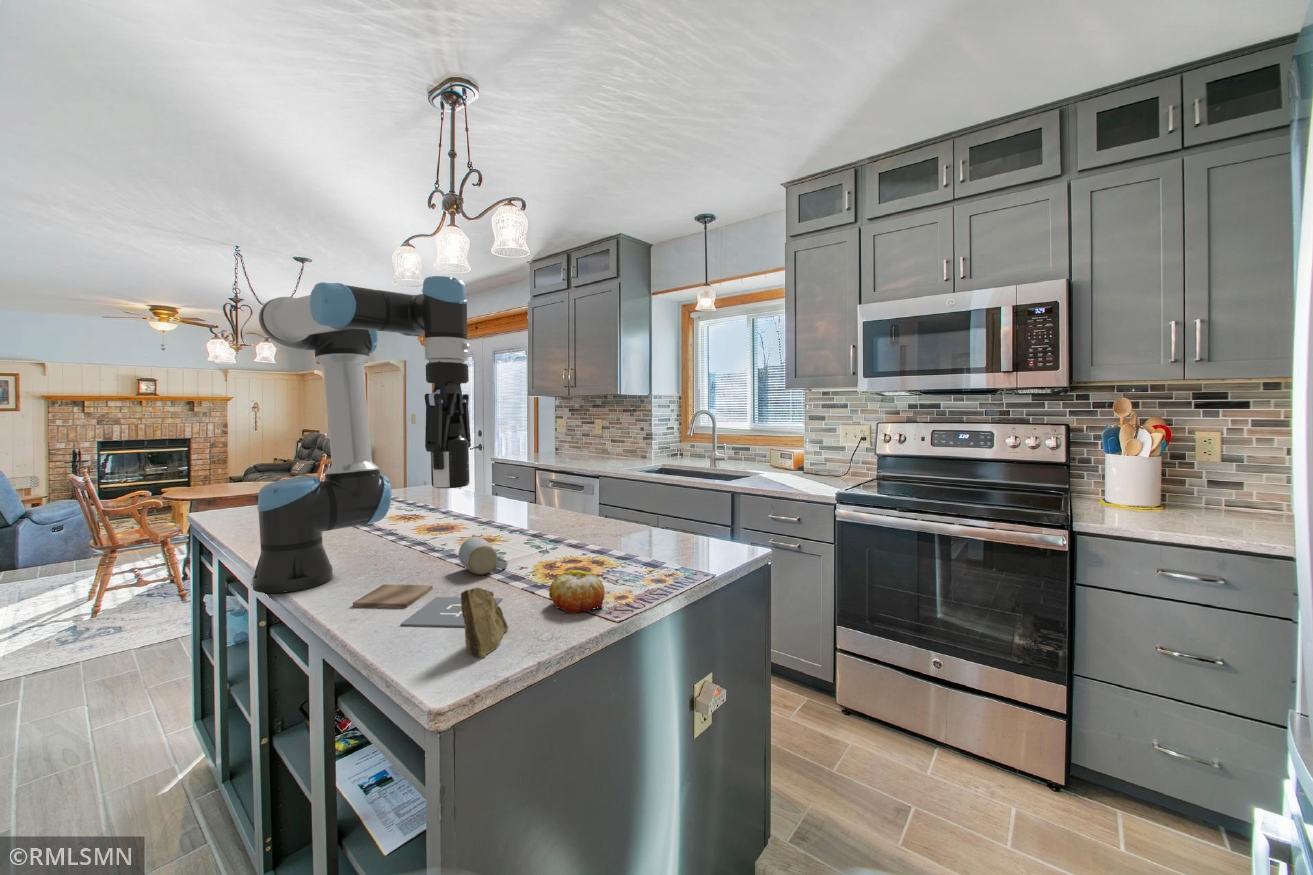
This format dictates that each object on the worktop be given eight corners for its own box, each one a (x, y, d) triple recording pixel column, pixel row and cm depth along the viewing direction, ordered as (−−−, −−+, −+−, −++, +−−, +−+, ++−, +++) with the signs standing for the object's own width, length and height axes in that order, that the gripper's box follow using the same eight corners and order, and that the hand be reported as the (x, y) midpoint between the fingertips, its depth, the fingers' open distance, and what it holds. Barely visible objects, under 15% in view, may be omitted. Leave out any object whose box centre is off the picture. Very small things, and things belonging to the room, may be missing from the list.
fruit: (537, 610, 107) (542, 567, 109) (563, 607, 116) (567, 568, 118) (589, 616, 103) (594, 572, 105) (612, 613, 113) (615, 572, 114)
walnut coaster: (352, 606, 110) (352, 602, 110) (383, 587, 121) (383, 584, 121) (406, 607, 109) (406, 603, 109) (432, 588, 120) (432, 585, 120)
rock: (493, 610, 102) (442, 619, 94) (514, 578, 99) (464, 585, 91) (519, 660, 96) (468, 674, 88) (542, 627, 93) (491, 639, 85)
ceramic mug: (468, 578, 127) (468, 545, 127) (458, 570, 134) (458, 538, 133) (513, 571, 133) (513, 539, 133) (501, 563, 140) (501, 533, 140)
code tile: (400, 625, 101) (400, 623, 101) (436, 598, 115) (436, 596, 115) (475, 627, 100) (475, 625, 100) (502, 599, 114) (502, 597, 114)
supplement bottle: (477, 485, 107) (475, 422, 106) (447, 490, 101) (445, 424, 100) (454, 482, 110) (452, 422, 110) (423, 487, 105) (421, 423, 104)
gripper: (442, 358, 94) (446, 492, 95) (486, 365, 114) (489, 476, 115) (399, 358, 94) (404, 492, 96) (450, 365, 114) (454, 476, 116)
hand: (450, 483), depth 106 cm, fingers closed on supplement bottle, 7 cm apart
